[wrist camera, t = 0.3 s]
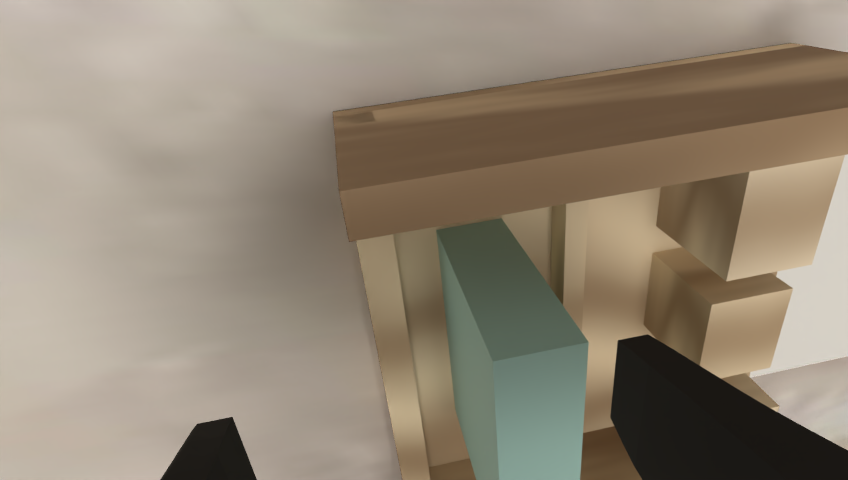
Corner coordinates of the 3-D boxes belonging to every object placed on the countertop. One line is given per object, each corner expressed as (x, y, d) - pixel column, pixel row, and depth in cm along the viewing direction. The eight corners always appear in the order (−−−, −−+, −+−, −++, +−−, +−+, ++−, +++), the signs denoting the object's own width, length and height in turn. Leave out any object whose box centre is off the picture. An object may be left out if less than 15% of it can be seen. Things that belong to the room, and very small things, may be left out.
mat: (862, 343, 26) (873, 350, 26) (735, 370, 26) (744, 378, 25) (964, 82, 20) (981, 86, 20) (800, 109, 19) (813, 114, 19)
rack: (708, 410, 27) (814, 532, 21) (403, 479, 25) (427, 631, 19) (791, 42, 18) (1010, 80, 12) (332, 111, 16) (339, 191, 11)
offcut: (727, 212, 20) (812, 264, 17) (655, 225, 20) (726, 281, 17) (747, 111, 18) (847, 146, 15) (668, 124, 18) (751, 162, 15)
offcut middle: (708, 311, 23) (770, 367, 19) (643, 324, 22) (695, 383, 19) (722, 239, 21) (793, 288, 18) (652, 252, 21) (711, 304, 17)
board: (508, 399, 23) (575, 555, 17) (455, 410, 23) (504, 573, 17) (501, 218, 19) (588, 342, 13) (436, 229, 18) (492, 361, 12)
